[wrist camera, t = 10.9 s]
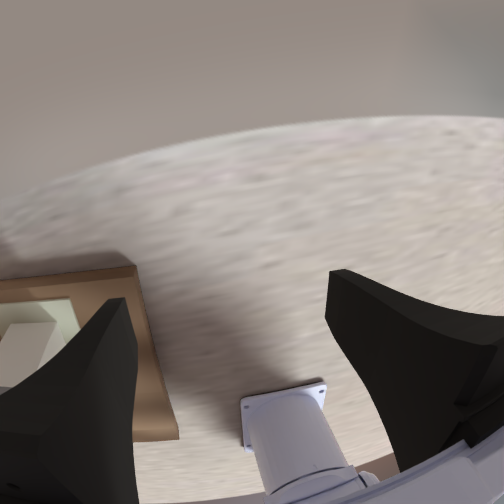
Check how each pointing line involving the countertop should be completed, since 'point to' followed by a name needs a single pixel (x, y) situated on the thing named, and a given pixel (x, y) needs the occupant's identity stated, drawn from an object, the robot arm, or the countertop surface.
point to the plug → (27, 350)
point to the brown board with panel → (79, 313)
